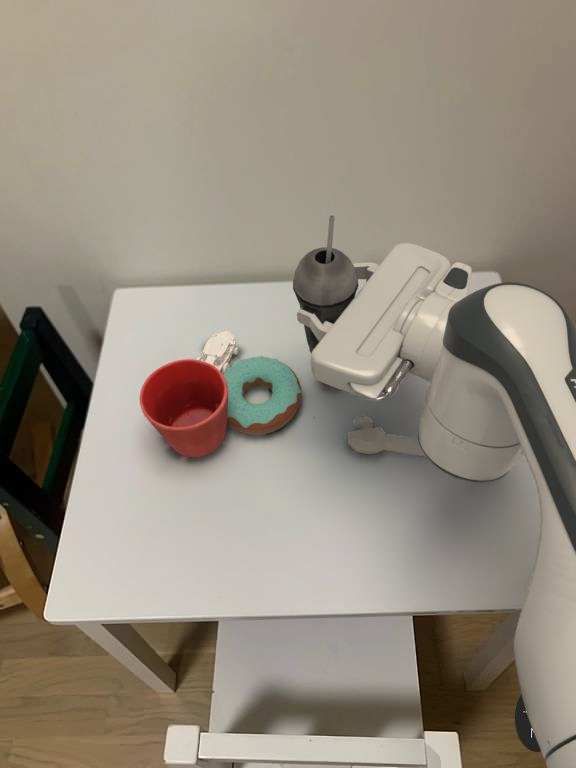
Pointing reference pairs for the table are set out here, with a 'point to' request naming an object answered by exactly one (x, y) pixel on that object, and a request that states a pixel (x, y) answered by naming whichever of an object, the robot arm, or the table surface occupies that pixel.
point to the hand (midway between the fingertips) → (319, 289)
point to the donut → (269, 412)
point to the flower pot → (187, 406)
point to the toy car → (219, 350)
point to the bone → (380, 440)
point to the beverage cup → (325, 283)
